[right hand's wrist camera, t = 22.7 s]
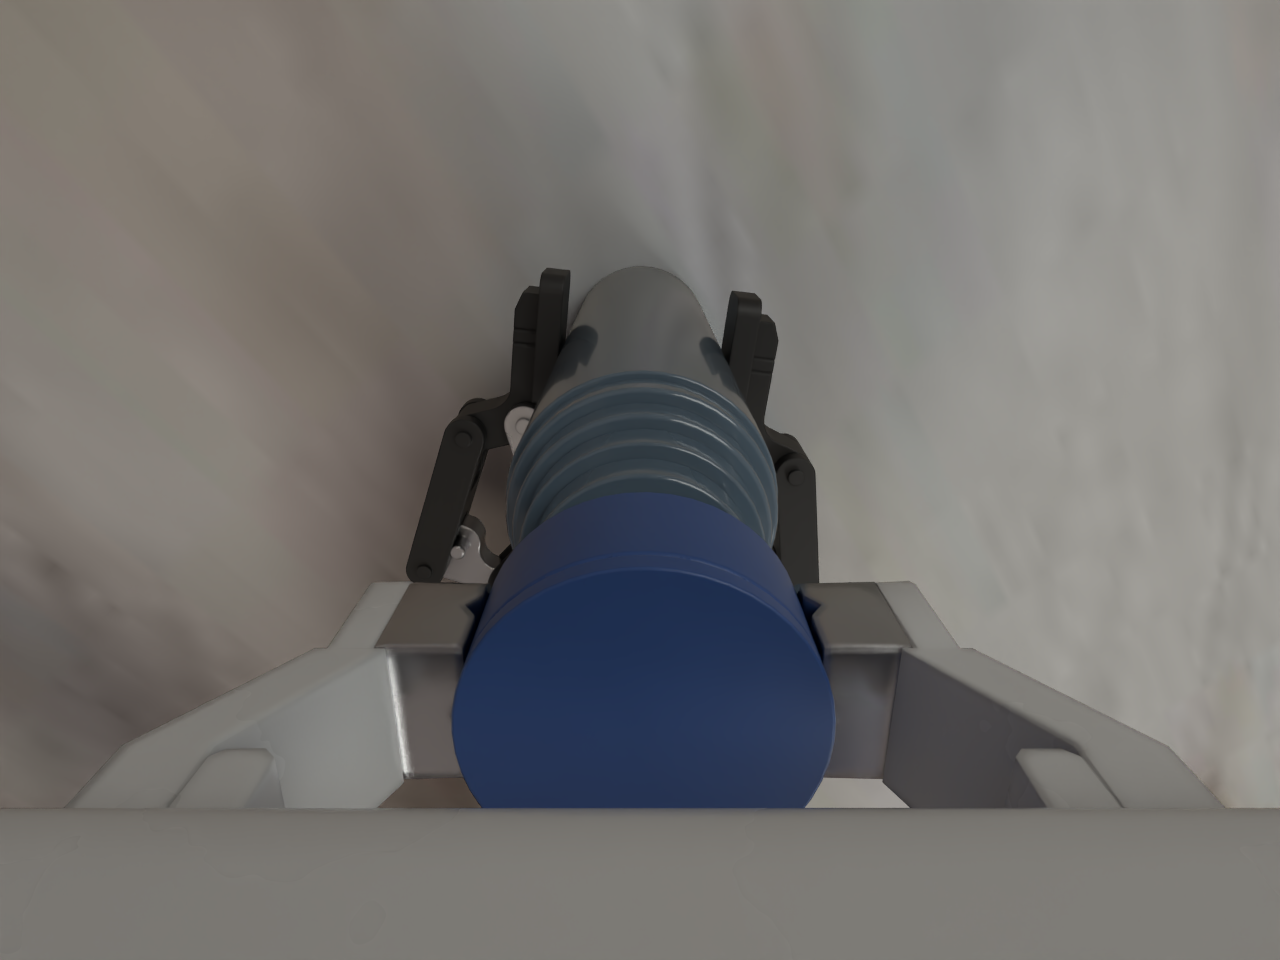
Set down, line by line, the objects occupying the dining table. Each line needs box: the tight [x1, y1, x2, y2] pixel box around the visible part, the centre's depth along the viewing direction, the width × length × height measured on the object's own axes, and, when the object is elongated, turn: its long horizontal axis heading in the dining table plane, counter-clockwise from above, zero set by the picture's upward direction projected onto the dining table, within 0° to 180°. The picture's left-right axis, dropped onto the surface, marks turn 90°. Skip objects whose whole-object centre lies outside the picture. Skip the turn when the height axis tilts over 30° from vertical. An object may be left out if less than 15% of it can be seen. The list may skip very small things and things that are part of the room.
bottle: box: [506, 266, 778, 550], centre depth 19 cm, size 5×5×22 cm
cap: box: [451, 492, 836, 808], centre depth 9 cm, size 4×4×2 cm
